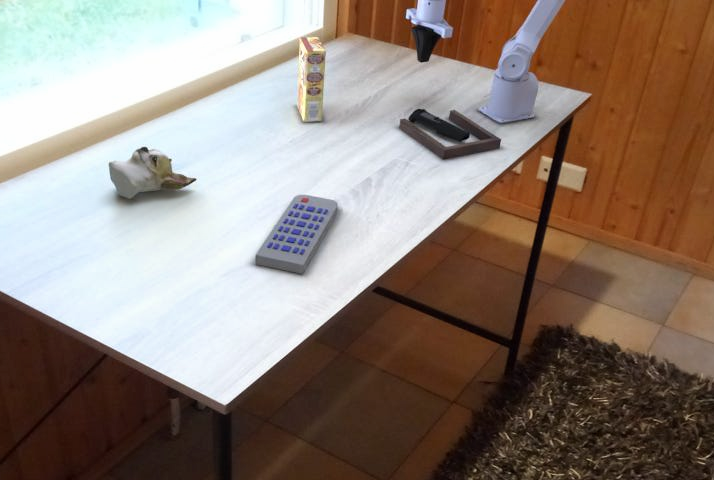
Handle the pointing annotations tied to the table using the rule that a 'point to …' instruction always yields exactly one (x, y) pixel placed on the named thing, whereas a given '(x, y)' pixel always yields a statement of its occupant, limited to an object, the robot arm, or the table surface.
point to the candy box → (311, 78)
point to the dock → (485, 144)
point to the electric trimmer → (438, 125)
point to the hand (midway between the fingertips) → (423, 61)
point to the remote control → (297, 234)
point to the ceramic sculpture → (146, 173)
